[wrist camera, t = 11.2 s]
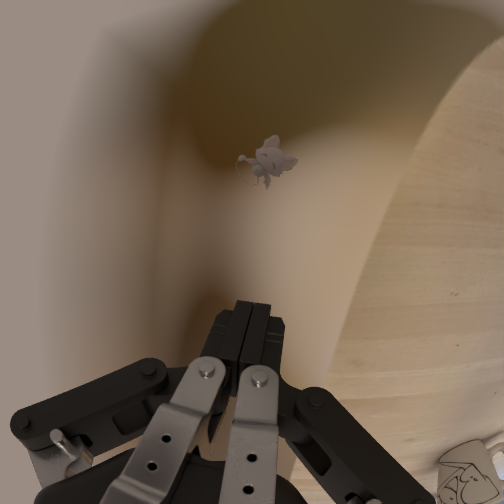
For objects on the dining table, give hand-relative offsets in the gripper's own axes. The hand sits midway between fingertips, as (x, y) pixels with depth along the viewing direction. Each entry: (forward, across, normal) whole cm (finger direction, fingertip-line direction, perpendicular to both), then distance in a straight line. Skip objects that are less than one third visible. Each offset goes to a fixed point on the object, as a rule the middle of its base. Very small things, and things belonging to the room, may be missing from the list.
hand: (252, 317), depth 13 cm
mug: (+3, -28, +22) cm, 36 cm away
